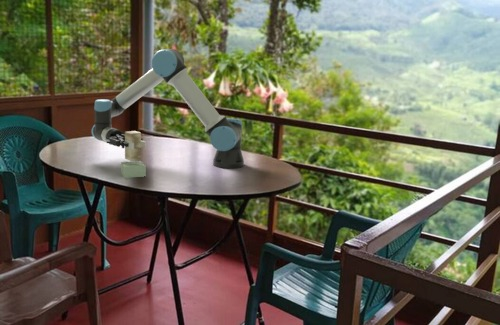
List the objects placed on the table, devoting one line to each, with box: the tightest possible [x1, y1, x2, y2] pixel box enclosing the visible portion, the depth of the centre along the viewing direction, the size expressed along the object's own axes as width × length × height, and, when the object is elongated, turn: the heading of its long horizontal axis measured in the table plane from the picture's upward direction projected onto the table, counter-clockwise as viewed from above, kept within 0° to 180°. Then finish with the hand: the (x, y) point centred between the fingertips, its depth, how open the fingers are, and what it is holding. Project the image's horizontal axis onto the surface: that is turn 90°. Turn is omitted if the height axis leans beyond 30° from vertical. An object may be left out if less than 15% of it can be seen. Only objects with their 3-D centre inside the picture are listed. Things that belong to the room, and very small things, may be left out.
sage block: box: [120, 160, 147, 179], centre depth 226 cm, size 9×9×5 cm
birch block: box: [124, 130, 142, 162], centre depth 223 cm, size 5×5×12 cm
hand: (139, 145), depth 219 cm, fingers closed on birch block, 5 cm apart
